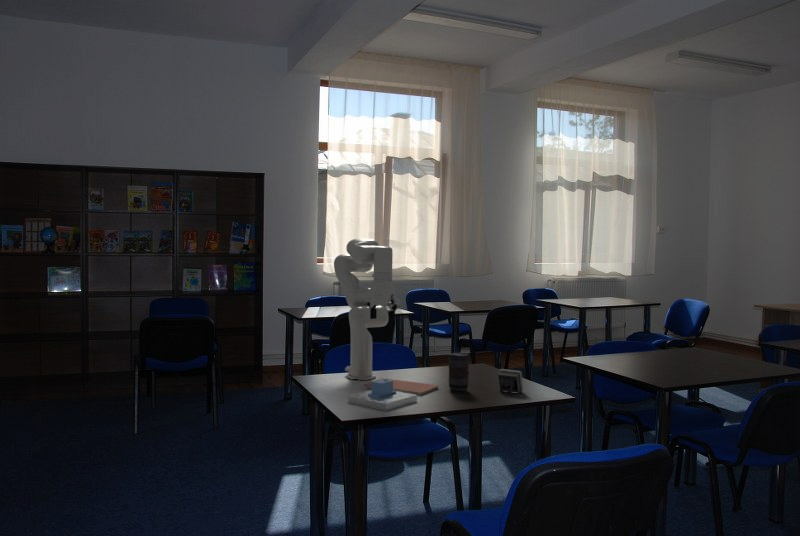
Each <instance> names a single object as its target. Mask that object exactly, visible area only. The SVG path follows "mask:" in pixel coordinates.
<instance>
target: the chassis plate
mask: <svg viewBox="0 0 800 536" xmlns="http://www.w3.org/2000/svg"><path fill="white" fill-rule="evenodd" d="M370 393H372V389H369V390H366V391H363V392H360V393H359V392H358V393H355V394H351V395H348V397H347V398H348V400H347V401H348V402H347V403H349V404H351V405H357V406H361V407H366V408H371V409H376V410H381V411H385V412H386V411H390V410H394V409H396V408H401V407H404V406H407V405H411V404H414V403H417V402H418V396H417V395H414V394H409V393H404V392H398V391H396V393H394V394H393V395H392V396H388V397H384V398H374V397H369V396H368V394H370Z"/></svg>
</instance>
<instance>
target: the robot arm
mask: <svg viewBox="0 0 800 536" xmlns="http://www.w3.org/2000/svg"><path fill="white" fill-rule="evenodd" d="M393 251H394V250H393V249H392V247H391V246H383V245H379V242H377V240H376V239H372V238H355V239H351V240H349V241H348V242H347V244H346V252H347V253H343V254H338V255H337V256H336V257H335V259H334V260H333V270H334V274H335V277H336V278H337V280H338V282H339V284H340V286H341V287H342V290H343V294H344V296H345V300H346V303H347V305H348V307H349V308H350V310H349V312H348V321H349V328H350V331H349V332H350V365H347V366H346V367H345V368H344V371H345V372H348V374H346V378H347V379H348V378H350V379H349V380H352V379H358V380H357V381H370V380H374V379H376V374H375V373H373V336H372V335H371V332H370V331H369V330H368V328H381V327H385V326H387V324H388V323H389V322H393V321H395V320H396V311H397V309H398V308H399V306H400V303H401V299H400V298H398V297H397V296H396V293H395V292H396V290H395V284H394V281H393V255H394V253H393ZM372 268H373V274H372V275H371V276H372V278H373V279H372V280H371V283H370V287H363V286H362V282H361V281H360V279H359V278H358V277H357V276H356V275H355V274H353V273H367V272H369V271H371V270H372ZM387 307H388V310H387ZM369 379H370V380H369Z"/></svg>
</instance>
